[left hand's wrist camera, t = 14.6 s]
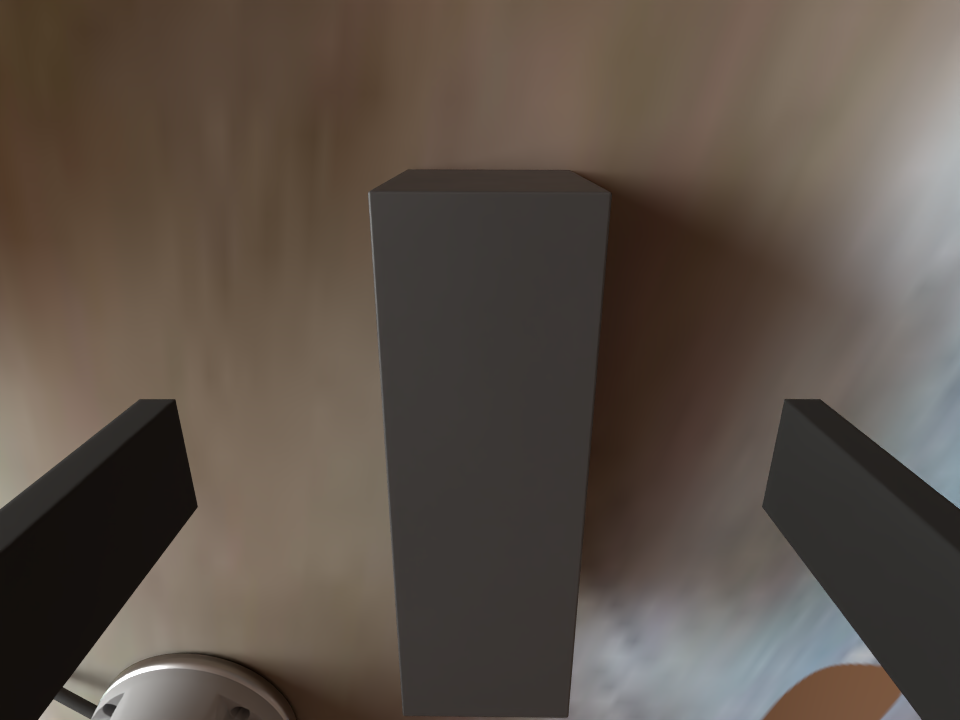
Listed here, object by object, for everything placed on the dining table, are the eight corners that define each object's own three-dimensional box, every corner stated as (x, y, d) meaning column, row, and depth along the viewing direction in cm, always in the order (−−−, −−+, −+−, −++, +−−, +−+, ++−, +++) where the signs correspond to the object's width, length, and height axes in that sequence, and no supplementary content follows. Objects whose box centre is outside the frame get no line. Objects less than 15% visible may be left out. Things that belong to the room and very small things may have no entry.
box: (406, 169, 31) (367, 191, 21) (570, 170, 31) (612, 192, 21) (423, 570, 41) (402, 716, 31) (547, 571, 41) (568, 718, 31)
